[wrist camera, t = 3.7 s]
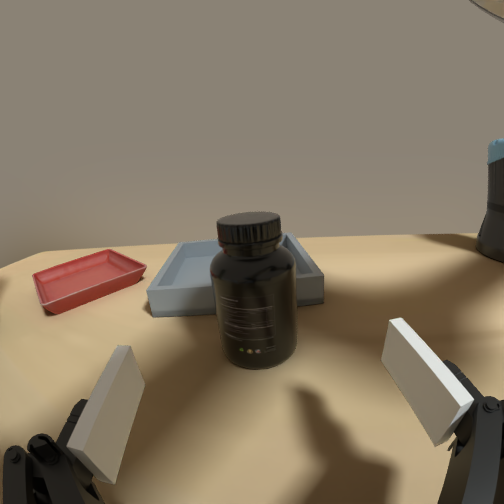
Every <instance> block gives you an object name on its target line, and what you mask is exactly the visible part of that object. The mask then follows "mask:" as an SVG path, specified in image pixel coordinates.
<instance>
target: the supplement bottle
mask: <svg viewBox="0 0 504 504" xmlns="http://www.w3.org/2000/svg"><path fill="white" fill-rule="evenodd" d="M280 223H281V222H280V216H279V215H278V214H276V213H272V212H246V213H238V214H233V215H229V216H225V217H222V218H220V219H219V220H218V221H217V231H218V245H219V246H220V247H221V248H222V250H221V251H220V252H218V253H217V254H216V255H215V256H214V258H213V259H212V262H211V264H210V278H211V284H212V291H213V297H214V303H215V309H216V315H217V320H218V326H219V332H220V337H221V342H222V347H223V351H224V353H225V355H226V356H227V358H228V359H229V360H230V361H232V362H233V363H235V364H236V365H239V366H241V367H244V368H249V369H265V368H270V367H274V366H276V365H279V364H281V363H283V362H284V361H286V360H287V359H288V358H289V357H290V356H291V355H292V354H293V353H294V351H295V349H296V346H297V283H296V263H295V259H294V256H293V255H292V253H291V252H290V251H289V250H288V249H287V248H285V247H284V246H282V245H280V244H279V243H280V242H281V241H282V239H283V234H282V231H281V224H280Z"/></svg>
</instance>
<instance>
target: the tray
mask: <svg viewBox="0 0 504 504" xmlns="http://www.w3.org/2000/svg"><path fill="white" fill-rule="evenodd" d="M282 234H283V239H282V241H281V242H280V243H279V244H280V245H282V246H284V247H285V248H287V249H288V250H289V251H290V252H291V253H292V255H293V256H294V259H295V263H296V283H297V306H304V305H312V304H320V303H323V301H324V274H323V273H322V272H321V270H320V269H319V268H318V266H317V265H316V264H315V263H314V261H313V260H312V259H311V257H310V256H309V255H308V253H307V252H306V251H305V250H304V248H303V247H302V246H301V244H300V243H299V242H298V241H297V239H296V238H295V237H294V236H293V234H292V233H282ZM221 250H222V248H221V247H220V246H219V245H218V239H211V240H200V241H190V242H179V243H178V245H177V246H176V248H175V249H174V250H173V252H172V253H171V255H170V256H169V258H168V259H167V261H166V262H165V263H164V265H163V266H162V268H161V269H160V271H159V272H158V274H157V275H156V277H155V278H154V280H153V281H152V283H151V284H150V286H149V287H148V289H147V290H146V291H147V295H148V299H149V304H150V308H151V311H152V315H153V317H171V316H191V315H207V314H216V309H215V303H214V297H213V291H212V284H211V278H210V264H211V262H212V259H213V258H214V256H215V255H216V254H217V253H218V252H220V251H221Z"/></svg>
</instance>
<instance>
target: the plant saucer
mask: <svg viewBox="0 0 504 504" xmlns="http://www.w3.org/2000/svg"><path fill="white" fill-rule="evenodd" d="M146 267H147V265H145V264H143V263H141V262H138V261H136V260H134V259H131V258H129V257H127V256H125V255H123V254H121V253H118V252H116V251H114V250H112V249H107V250H103V251H100V252H97V253H94V254H91V255H88V256H85V257H81V258H78V259H75V260H72V261H69V262H66V263H63V264H60V265H57V266H54V267H51V268H48V269H46V270H43V271H40V272H37V273H35V274H33V275H32V277H33V280H34V284H35V287H36V291H37V294H38V298H39V301H40V304H41V305H42V306H43V307H44V308H45V309H47V310H48V311H50V312H52V313H54V314H61V313H63V312H66V311H68V310H71V309H73V308H76V307H78V306H81V305H83V304H86V303H88V302H91V301H93V300H96V299H98V298H101V297H103V296H106V295H108V294H111V293H114V292H116V291H119V290H121V289H124V288H126V287H129V286H132V285H134V284H136V283H137V282H138V281H139V279H140V278H141V276H142V275H143V273H144V271H145V270H146Z"/></svg>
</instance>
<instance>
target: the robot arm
mask: <svg viewBox="0 0 504 504" xmlns="http://www.w3.org/2000/svg"><path fill="white" fill-rule="evenodd" d="M469 1H470V2H471V3H473V4H474V5H475V6H477V7H478V8H479V9H481V10H482V11H484V12H485V13H487V14H489V15H490V16H492V17H494V18H495V19H497V20H499V21H501V22H503V23H504V0H469ZM487 165H488V201H487V212H486V215H485V218H484V220H483V223H482V225H481V228H480V231H479V233H478V235H477V241H476V248H477V250H478V251H480V252H481V253H482V254H484V255H486V256H488V257H490V258H493V259H495V260H498V261H501V262H504V139H498V140H494V141H492V142H491V143H490V144H489V146H488V162H487ZM381 362H382V363H383V365H384V366H385V368H386V369H387V371H388V372H389V374H390V375H391V377H392V378H393V380H394V381H395V383H396V384H397V386H398V388H399V389H400V391H401V392H402V394H403V395H404V397H405V398H406V400H407V402H408V403H409V405H410V406H411V408H412V410H413V411H414V413H415V414H416V416H417V418H418V419H419V421H420V422H421V424H422V426H423V427H424V429H425V431H426V432H427V434H428V436H429V437H430V439H431V441H432V442H433V444H434V446H435V447H436V446H438V445H440V444H442V443H444V442H446V441H448V440H449V438H450V437H451V436H452V434H453V433H455V435H456V436H457V437H456V438H455V439H454V441H453V442H452V443H451V445H450V446H449V448H448V450H447V451H450V449H451V448H452V447H453V449H452V454H451V458H450V462H449V466H448V470H447V474H446V478H445V481H444V484H443V488H442V491H441V494H440V497H439V500H438V503H437V504H504V400H501V401H499V400H498V399H496V398H495V397H491V396H486V397H484V396H483V395H482V394H481V393H480V392H479V391H478V390H477V388H476V387H475V386H474V385H473V384H472V383H471V382H470V380H469V379H468V378H466V376H465V375H464V374H463V373H461V370H460V369H459V368H458V367H457V366H456V365H455V364H453V363H452V362H450V361H448V360H445V361H441V360H440V359H439V358H438V357H437V355H436V354H435V353H434V352H433V351H432V350H431V349H430V348H429V347H428V345H427V344H426V343H425V342H424V341H423V340H422V339H421V338H420V337H419V336H418V335H417V334H416V333H415V331H414V330H413V329H412V328H411V327H410V326H409V325H408V324H407V323H406V322H405V321H404V320H403V319H402V318H396V319H392V320H389V324H388V329H387V334H386V339H385V344H384V349H383V353H382V358H381ZM144 388H145V382H144V380H143V377H142V375H141V372H140V370H139V367H138V365H137V362H136V359H135V357H134V354H133V351H132V348H131V346H122V345H117V347H116V349H115V351H114V353H113V354H112V356H111V358H110V360H109V362H108V363H107V365H106V367H105V369H104V371H103V373H102V375H101V376H100V378H99V380H98V382H97V384H96V386H95V388H94V390H93V392H92V394H91V396H90V398H89V400H86V399H81V400H80V401H79V402H78V403H77V404H76V405H75V406H74V408H73V409H72V411H71V413H70V416H69V417H68V419H67V422H66V423H65V425H64V427H63V429H62V431H61V433H60V435H59V437H58V439H57V442H56V443H55V442H54V440H53V439H52V438H51V437H50V436H48V435H47V434H37V435H35V436H33V437H32V438H31V439H30V440H29V443H28V445H27V450H28V451H29V452H30V453H26V451H25V450H24V449H23V448H21V447H20V446H16V445H15V446H11V447H10V448H8V449H7V450H6V452H5V455H4V464H3V504H105V503H104V501H103V499H102V497H101V496H100V494H99V492H98V490H97V488H96V486H95V484H94V483H93V482H92V477H93V475H94V476H95V477H96V478H97V479H98V480H99V481H101V482H105V483H110V484H114V485H115V483H116V480H117V476H118V472H119V468H120V465H121V461H122V458H123V454H124V451H125V448H126V444H127V441H128V438H129V434H130V431H131V428H132V425H133V421H134V418H135V415H136V412H137V409H138V406H139V403H140V400H141V397H142V394H143V391H144Z"/></svg>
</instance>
